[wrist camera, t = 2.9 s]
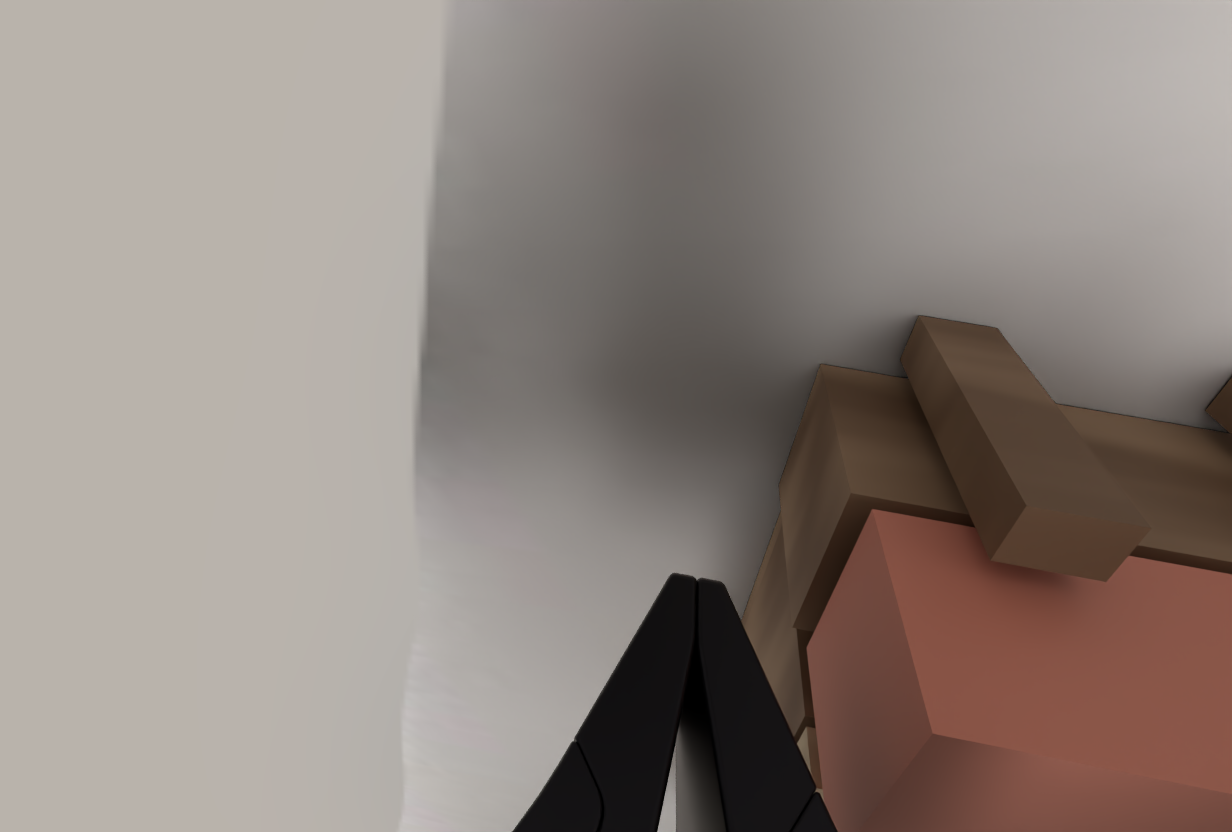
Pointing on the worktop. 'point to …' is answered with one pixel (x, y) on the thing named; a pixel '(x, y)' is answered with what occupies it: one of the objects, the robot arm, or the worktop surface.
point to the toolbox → (977, 483)
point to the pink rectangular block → (1019, 691)
